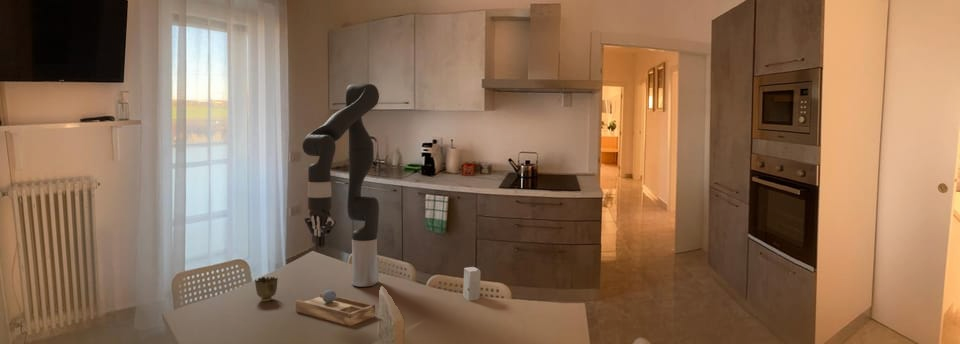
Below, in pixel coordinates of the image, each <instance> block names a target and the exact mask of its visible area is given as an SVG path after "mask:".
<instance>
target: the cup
mask: <svg viewBox="0 0 960 344" xmlns="http://www.w3.org/2000/svg"><path fill="white" fill-rule="evenodd" d="M278 279H279V278H278V277H275V276H271V277H269V276H267V277H265V276H262V277H258V280H257V279H254V282H255V283H254V284H255V290H256V294H257V296H258V297H259V298H260V300H261V302H262V303H268V302H272V300H273V296H275V295H276V293H277V288H278Z"/></svg>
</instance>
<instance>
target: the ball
mask: <svg viewBox="0 0 960 344" xmlns="http://www.w3.org/2000/svg"><path fill="white" fill-rule="evenodd" d="M322 293H323V295H322V298H323V300H324V301H325V302H326V303H331V302H333V301H334V300H335V298H336V296H337V293H336V292H335V290H333V289H326V290H325V291H323V292H322Z"/></svg>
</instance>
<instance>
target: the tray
mask: <svg viewBox="0 0 960 344" xmlns="http://www.w3.org/2000/svg"><path fill="white" fill-rule="evenodd" d="M323 293H324V292H320V293H319V296H317V297H315V298H310V299H307V300H304V301H303V300H299V299H296V300H295V312H297V313H300V314H304V315H307V316H308V315H309V316H312V317H315V318H319V319H321V320H327V321H331V322H334V323H337V324H342V325H345V326H349V327H351V326H354V325H356V324H359V323H361V322H364V321H367V320H369V319H372V318H374V317H376V305H375V304H371V303H367V302H363V301H358V300H354V299H350V298H347V297H346V298H345V297H343V296H342V297H341V296H338V295H336V298H335V300H334V301H333V302H331V303H326V302H325V301H324V300H323V298H322V295H323Z"/></svg>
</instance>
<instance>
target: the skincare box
mask: <svg viewBox="0 0 960 344" xmlns="http://www.w3.org/2000/svg"><path fill="white" fill-rule="evenodd" d="M481 273H482V272H481V270H480V269H479V268H477V267H475V266H468V267H464V268H463V287H462V289H463V290H462V295H463V297H464V298H465V299H466V301H469V302H470V301H476V300H477V301H478V300H480V295H481V294H480V292H481V291H480V290H481Z"/></svg>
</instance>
